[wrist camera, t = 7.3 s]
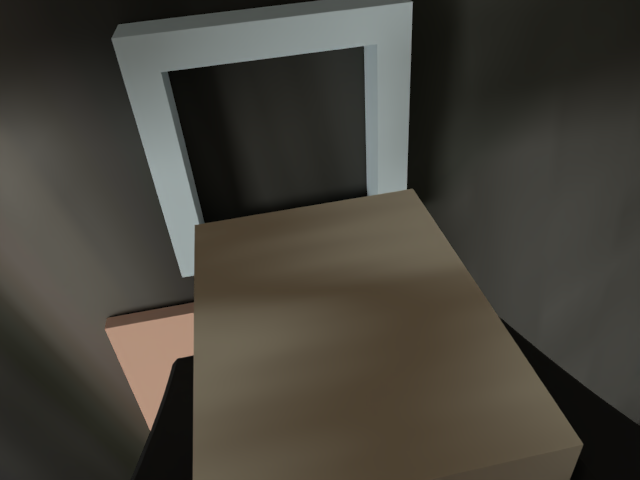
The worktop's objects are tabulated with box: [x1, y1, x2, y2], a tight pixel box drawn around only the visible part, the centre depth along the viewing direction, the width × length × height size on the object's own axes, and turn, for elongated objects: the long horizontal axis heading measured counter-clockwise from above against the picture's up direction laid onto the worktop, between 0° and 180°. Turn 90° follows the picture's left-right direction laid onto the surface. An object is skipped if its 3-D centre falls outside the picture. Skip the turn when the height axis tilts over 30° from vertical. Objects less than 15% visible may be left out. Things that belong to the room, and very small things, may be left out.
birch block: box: [193, 189, 583, 480], centre depth 10 cm, size 4×4×6 cm
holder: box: [111, 0, 413, 277], centre depth 17 cm, size 8×8×2 cm
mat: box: [105, 302, 194, 431], centre depth 24 cm, size 11×11×1 cm
